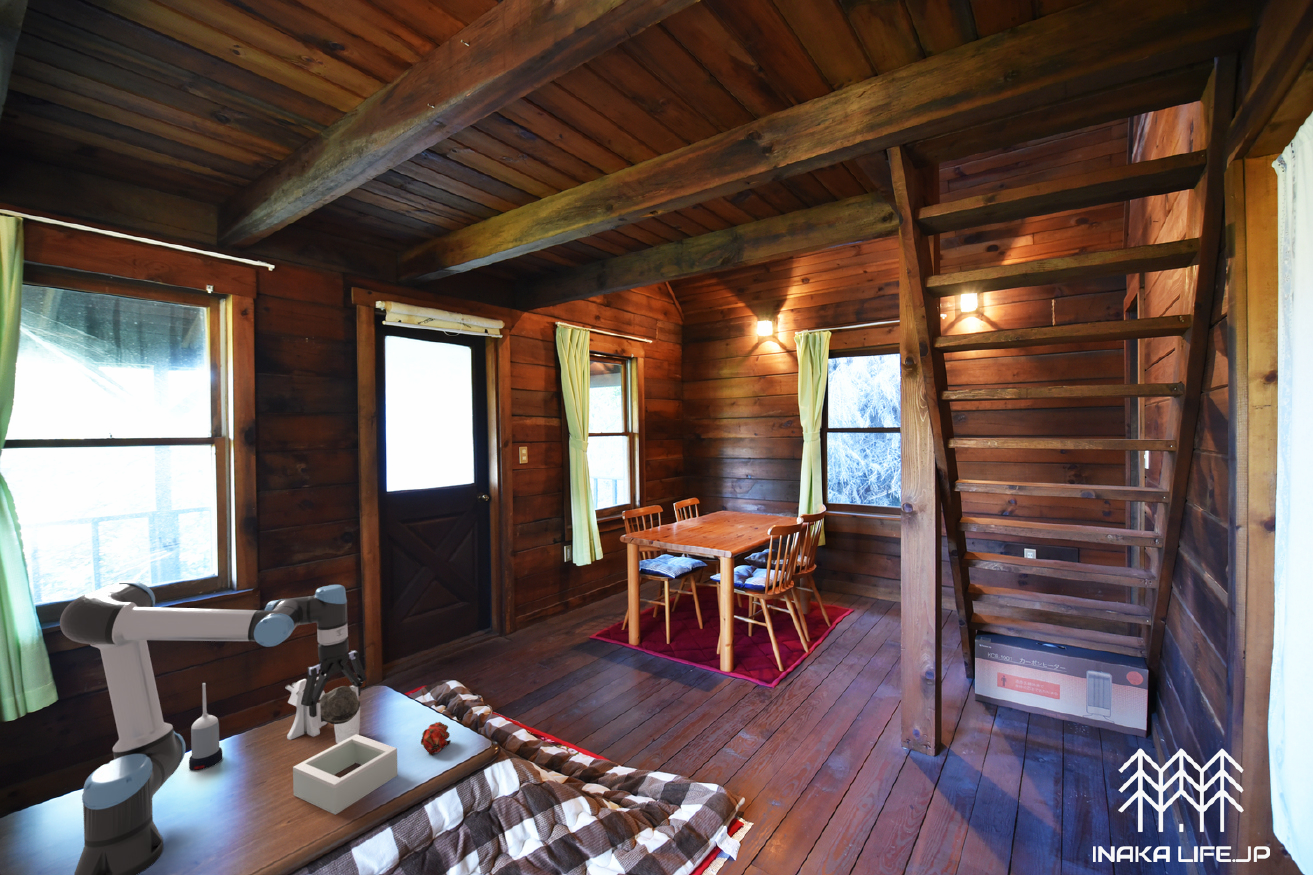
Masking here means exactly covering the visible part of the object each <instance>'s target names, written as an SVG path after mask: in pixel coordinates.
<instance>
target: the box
mask: <svg viewBox="0 0 1313 875" xmlns="http://www.w3.org/2000/svg"><path fill="white" fill-rule="evenodd" d="M355 763H356V764H359V765H360V766H359V767H356V768H355V769H353V770H351V771H350V772H348V773H347V774H345V775H343V776H341V777H338V776H336V774H338V773H340V772H341V771H343V770H346V769H347V768H349V767H351V766H352V765H354V764H355ZM398 770H399V769H398V748H397V747H394V746H391V745H388V744H385V743H383V742H380V741H377V740H374V739H371V738H369V737H365V736H362V735H360V734H359V735H357V734H355V735H354V736H352V737H350V738H348V739H346V740H344V741H342V742H340V743H336V744H335V745H333V746H330V747H329V748H327V749H325V750H323V751H321V752H319V753H317V754H315V755H313V756H311V757H309V758H308V759H307V758H306V760H303V761H302V762H300V763H298V764H296V765H294V766H292V784H293V789H292V790H293V796H294V797H297V798H298V799H301V800H303V801H306V802H308V803H309V804H311V805H314V806H315V807H318V808H320V809H322V810H324V811H327V812H329V813H330V814H333V815H337V814H339V813H341V812H342V811H344V810H346V809H347V808H348V807H350V806H352V805H353V804H355V803H356V802H358V801H359V800H361V799H362V798H364V797H366V796H367V795H369V794H370V793H372V792H374V791H375V790H377V789H378V788H380V787H382V786H383V785H385V784H386V783H388V782H389V781H391V780H392V779H394V778H396V777H398V775H399V774H398Z"/></svg>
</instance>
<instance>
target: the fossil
mask: <svg viewBox="0 0 1313 875" xmlns="http://www.w3.org/2000/svg"><path fill="white" fill-rule="evenodd" d="M358 698H359V697H358ZM358 698H357V695H356V693H355V692H354V691H352V689H351V688H350V686H346V685H341V686H339V687H335V688H334V689H332V690H329V692H326V693H325V694H324V695H323V696H322V698H321V699H320V700H319V701H318V703H319V704H320V709H321V722H323V721H325V722H327V724H328V723H329V724H331V725H334V724H342V723H345V722H348V721H349V720H351V719H352V718H353V717H354V716H355V715H356V713H357V712H358V710H359V708H360V709H361V701H360V700H358Z"/></svg>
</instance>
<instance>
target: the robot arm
mask: <svg viewBox="0 0 1313 875" xmlns="http://www.w3.org/2000/svg"><path fill="white" fill-rule="evenodd" d="M155 605H156V596H155V593H154V592H153V590H152V589H151V588H150V587H149V586H148V585H146V584H144V583H143V582H138V581H135V580H122V581H118V582H114V583H110V584H106V585H104V586H103V587H101V588H99V589H96V590H94V591H91V592H89V593H86V594H83V595H82V596H79V597H77V598H76V599H74V600H72V601H71V602H70V603H69V604H68V605H67V606H66V607H65V608H64V610H63V611H62V613H61V616H60V619H59V627H60V630H61V632H62V633H63V635H64V636H65V637H66V638H68V639H69V640H71V641H72V642H76V643H79V644H84V645H85V644H87V645H90V646H91V647H93V648H97V649H98V650H100V654H101V660H102V665H103V666H102V667H103V669H104V673H105V678H106V683H107V684H106V685H107V689H108V692H109V697H110V701H111V702H110V703H111V706H112V712H113V716H114V721H115V724H116V731H117V735H118V740H117V741H116V742H115V744H114V745H113V747H112V753H113V760H110V761H109V762H108V763H105V764H103V765H100V767H98V768H97V769H95V770H94V771H93V772H92V773H91V774H89V776H88V777H87V778H86V780H85V781H84V785H83V791H82V792H83V793H82V795H81V800H82V806H83V807H82V808H83V809H82V810H83V812H82V813H83V837H84V844H83V845H84V846H83V850H82V852H81V853H80V857H79V860H78V862H77V865H76V867H75V871H74V874H73V875H137V874H138V873H139V874H141V873H142V872H144V871H146V870H147V869H148V868H149V866H150V867H151V866H152V865H153V864H154V863H156V861H158V859H159V858H160V857H161V855H162V854H163V851H164V840H163V837H162V835H161V833H160V831H159V830H158V828H157V826H156V824H155V821H154V818H153V816H154V815H153V797H154V795H155V794H156V793H157V792H158V791H159V790H160V788H161V787H162V786H163V785H164V784H165V783H166V781H168V780H169V778H170V777H172V776H173V775H174V774H175V772H176V770H177V769H178V768H179V767H180V765H181V763H182V761H183V759H184V757H185V755H186V754H185V753H186V742H185V740H184V737H183V736H182V735H181V734H180V733H177V732H176V731H175V730H174V727H173V726H174V725H173V724H171V723H169V722H165V721H164V717H163V713H162V707H161V704H160V703H161V702H160V699H159V697H160V696H159V693H158V690H157V689H158V688H157V684H156V679H155V675H154V669H153V665H152V660H151V657H150V656H151V655H150V650H149V646H148V642H147V641H195V642H196V641H197V642H198V641H200V642H203V641H204V642H205V641H206V642H207V641H209V642H210V641H211V642H214V641H215V642H256V643H257V644H259V645H260V646H263V647H266V648H267V647H275V646H278V645H279V644H282V642H285V640H287V639H288V638H289V637H290V636H291V634H292V633H293V631H294V630H295V629H296V628H297V627H298V626H300V625H301V626H302V625H308V624H309V625H310V624H313V623H316V627H317V628H316V629H317V630H316V631H317V633H316V634H317V635H316V636H317V643H318V644H317V652H318V654H317V655H318V659H319V662H318V664H316V665H313V666H308V667H307V669H306V670H307V671H306V673H307V678H306V680H307V681H306V685H305V689H304V693H303V697H302V701H301V704H302V705H304V706H309V715H310V717H312V720H313V727H316V728H318V729H319V730H320V729H321V728H322V726H321V709H320V704H319V701H320V700H319V698H320V696H321V694H322V692H323V690H324V689H325V687H326V685H327V684H328V681H329V680H330V678H331V676H333V675H335V674H338V673H343V675H344V676H345V677H346V678H347V679H348V681H350V683H351V684H352V685H349V688H351V689H352V691H354V692H355V693H356V695H357V698H358V700H359V698H360V697H361V694H362V693H361V692H362V691H361V687H362V686H363V684H364V683H363V682H366V681H367V679H368V678H367V675H366V673H365V670H364V667H363V665H362V662H361V660H360V652H359V651H357V650H355V649H354V650H350V652H349V649H350V648H349V646H350V645H349V638H348V637H349V635H348V634H349V630H348V599H347V593H346V588H345V586H344V585H341V584H329V585H326V586H322V587H318V588H317V589H316V590H315V593H314V595H309V596H300V597H293V598H292V597H291V598H280V599H278V600H271V601H269V602H268V603H267V604H266V605H265V608H264V610H255V609H231V608H230V609H225V608H223V609H222V608H190V607H189V608H187V607H158V606H157V607H155ZM349 660H350V662H351V664H352V667H353V670H354V672H355V673H354V672H353V670H352V669H351V667H350V666H349V665H348V661H349ZM319 670H320V671H319ZM325 674H326V676H325ZM317 677H319V679H318V680H316V679H317ZM315 684H316V685H315ZM359 701H360V700H359ZM146 868H147V869H146ZM140 872H141V873H140ZM139 874H138V875H139Z"/></svg>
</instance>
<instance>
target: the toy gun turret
mask: <svg viewBox="0 0 1313 875" xmlns="http://www.w3.org/2000/svg"><path fill="white" fill-rule="evenodd" d="M324 675H325V676H326V674H324ZM318 679H319V676H317V679H316V681H318ZM306 681H307V678H303V679H300V680H298V681H297V682H292V684H291V685H290V684H287V685H286V686H285V689H286V690H288V691H289V692H290V693H291V694H290V697H289V699H288V701H287V703H288V704H290V705H292V706H295V707H296V713H295V718H294V721H293V723H292V725H291V728H290V730H289V731H288V733H287V735H286V738H287V740H290V741H291V740H293V739H296V738H298V737H301V736H303V735H305V734H307V735H308V736H310V737H316V736H319V735H320V733H321V731H320V728H319V729H318V728H316V727H313V720H312V717H310V715H309V706H304V705H302V704H301V701H302V697H303V693H304V689H305V685H306ZM315 685H316V684H315ZM324 694H326V693H325V690H324V689H323V692H322V694H321V696H320V698H319V700H318V701H320V699H321V698H322V696H323V695H324ZM327 724H328V722H325V721H323V722H321V727H324V726H326V725H327Z"/></svg>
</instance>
